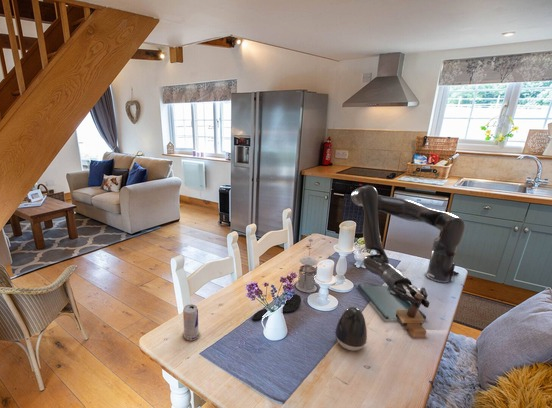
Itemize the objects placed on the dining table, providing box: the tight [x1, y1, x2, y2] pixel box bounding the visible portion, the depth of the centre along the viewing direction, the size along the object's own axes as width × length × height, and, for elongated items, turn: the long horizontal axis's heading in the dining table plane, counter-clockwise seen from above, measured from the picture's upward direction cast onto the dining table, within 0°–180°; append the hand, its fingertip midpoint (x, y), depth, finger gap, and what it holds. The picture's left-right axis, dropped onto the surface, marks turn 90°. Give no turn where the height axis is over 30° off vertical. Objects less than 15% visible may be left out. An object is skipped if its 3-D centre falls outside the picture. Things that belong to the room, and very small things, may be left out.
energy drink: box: [182, 304, 199, 342], centre depth 113 cm, size 5×5×12 cm
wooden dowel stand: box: [396, 294, 426, 326], centre depth 116 cm, size 5×8×13 cm, turn 90°
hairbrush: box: [252, 292, 302, 322], centre depth 129 cm, size 8×4×25 cm
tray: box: [357, 283, 427, 320], centre depth 133 cm, size 24×16×2 cm, turn 0°
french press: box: [295, 237, 319, 294], centre depth 142 cm, size 10×12×25 cm
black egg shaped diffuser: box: [334, 306, 368, 352], centre depth 108 cm, size 10×10×15 cm
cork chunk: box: [405, 323, 427, 339], centre depth 115 cm, size 4×4×3 cm
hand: (423, 305), depth 111 cm, fingers closed on wooden dowel stand, 3 cm apart
